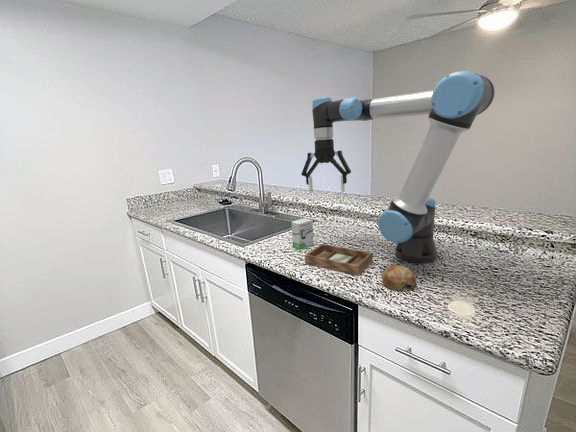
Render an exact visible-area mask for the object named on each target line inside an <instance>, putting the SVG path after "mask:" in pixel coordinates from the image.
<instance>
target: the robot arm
mask: <svg viewBox="0 0 576 432" xmlns="http://www.w3.org/2000/svg"><path fill="white" fill-rule="evenodd" d="M494 98H495V87H494V84H493V82H492V81H491V80H490V79H489V78H487V77H486V76H484V75H482V74H478V73H476V72H473V71H467V70H462V71H455V72H451V73H449V74H447V75H445V76H444V77H443V78H441V79H440V81H438V82H437V84H436V85H435V86H434V89H431V90H425V91H424V90H423V91H419V92H414V93H413V92H411V93H405V94H398V95H391V96H385V97H384V96H383V97H378V98H371V99H364V100H363V99H362V100H361V99H360V100H359V99H358V98H357V97H346V98H343V99H339V100H338V99H337V100H334V101H333V100H332V97H329V96H320V97H316V98H314V99H312V102H311V103H312V110H311V112H312V120H313V136H314V137H313V139H314V152H307V159H306V160H305V162H304V163H305V164H304V165H303V169H302V171H301V176H302V177H305V182H306V185H308V193H309V194H310V193H313V192H314V190H313V188H314V187H313V176H311V175H312V174H313V173H314V170H315V169H316V168H317V166H319V164H324V163H325V164H329V163H331V164H332V165H333V166H334V167H335V169H336V170H337V171H338V172H339V173H340V174H341V175H340V189H341V193H344V192H345V191H346V190H345V188H346V187H345V185H346V184H347V182H348V179H347V178H348V177H347V176H348V175H350V174H351V173H352V170H351V169H350V167H349V165H348V163H347V161H346V159H345V158H344V155H343V151H342V150H338V151H336V150H335V148H334V146H335V144H334V143H335V142H334V139H333V138H334V127H333V126H334V123H338V122H349V121H350V122H352V121H354V122H355V121H362V122H364V121H365V122H366V121H371V120H380V119H382V120H384V119H394V118H403V117H412V116H413V117H414V116H425V115H426V116H427V115H428V116H427V118H428V120H429V123H430V125H429V127H428V130H427V132H426V134H425V137H424V138H423V141H422V143H421V145H420V148H419V149H418V151H417V152H418V153H417V154H416V157H415V158H414V161H413V164H412V166H411V167H410V170H409V172H408V175H407V177H406V179H405V181H404V183H403V186H402V188H401V190H400V192H399V194H397V195H396V196H393V198H392V199H391V201H390V204H389V206H388V208H387V210H385V211H383V212H382V213H381V214H380V215H379V218H378V221H377V226H378V230H379V231H380V234H381V235H382V236H383V238H384V239H386V240H387V241H388V242H391V243H394V244H396V245H395V248H394V254H395V256H396V258H398V259H400V260H401V261H404V262H409V263H415V264H416V263H418V264H421V263H422V264H425V263H431V262H434V261H436V260H437V259H438V248H437V246H436V243H435V240H434V230H435V218H436V209H437V207H436V201H435V199H433V198H431V197H430V195H431V194H432V193H433V190H434V188H435V186H436V184H437V182H438V181H439V178H440V176H441V175H442V172H443V170H444V167H445V166H446V164H447V162H448V160H449V158H450V156H451V154H452V152H453V150H454V148H455V146H456V144H457V142H458V140H459V138H460V136H461V135H462V134H463V133H465V132H467V131H469V130H470V129H471V128H472V127H471V126H472V125H473V123H474V121H475V119H476V117H478V115H481V114H483V113H484V112H485V111H487V110H488V108H489V107H490V106H491V105H492V103H493V101H494ZM335 156H336V157H338V159H339V161H340V163H341V165H342V166H341V165H340V164H339V163H338V161H337V160H336V159H335V158H334V157H335ZM314 157H315V158H316V160H315V161H314V163H313V164H312V165H311V162H312V159H314ZM310 165H311V167H310ZM309 167H310V168H309ZM308 169H309V170H308Z"/></svg>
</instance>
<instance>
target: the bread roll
mask: <svg viewBox="0 0 576 432" xmlns="http://www.w3.org/2000/svg"><path fill="white" fill-rule="evenodd" d="M380 275H381V277H382V283H383V285H385V287H386V288H389V289H391V290H393V291H397V292H401V291H402V292H407V291H409V290H411V289H413V288H415V287H416V285H417V277H416V276H415V273H414V272H413V271H412V270H410V268H409V267H406V266H404V265H400V264H398V265H397V264H396V265H391V266H388V267H387V268H386V269H384V271H382V273H381V274H380Z"/></svg>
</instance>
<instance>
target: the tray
mask: <svg viewBox="0 0 576 432" xmlns="http://www.w3.org/2000/svg"><path fill="white" fill-rule="evenodd" d="M373 254H374V253H373V252H369V251H365V250H364V251H363V250H359V249H358V250H357V249H352V248H349V247H348V248H347V247H341V246H335V245H332V244H324V243H322V244H320V245H319V246H317V247H316V248H313V249H312V250H310V251H309V252H307V253H306V254H304V261H305V262H304V264H306V265H309V266H315V267H319V268H322V269H327V270H331V271H332V270H333V271H335V272H340V273H345V274H348V275H354V276H357V277H358V276H360V274H361V273H363V272H364V271H365V270H366V269H367V268H368V266H370V264H372V263H373V258H374V257H373V256H374V255H373Z"/></svg>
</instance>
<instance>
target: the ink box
mask: <svg viewBox="0 0 576 432" xmlns="http://www.w3.org/2000/svg"><path fill="white" fill-rule="evenodd" d="M313 221H314V220H313V219H309V218H308V217H307V218H306V217H305V218H301V219H300V218H299V219H297V220H296V219H295V220H293V221H291V235H292V236H291V239H292V248H295V249H297V250H302V249H305V248H308V247H312V246H313V245H314V225H313V224H314V222H313Z"/></svg>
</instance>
